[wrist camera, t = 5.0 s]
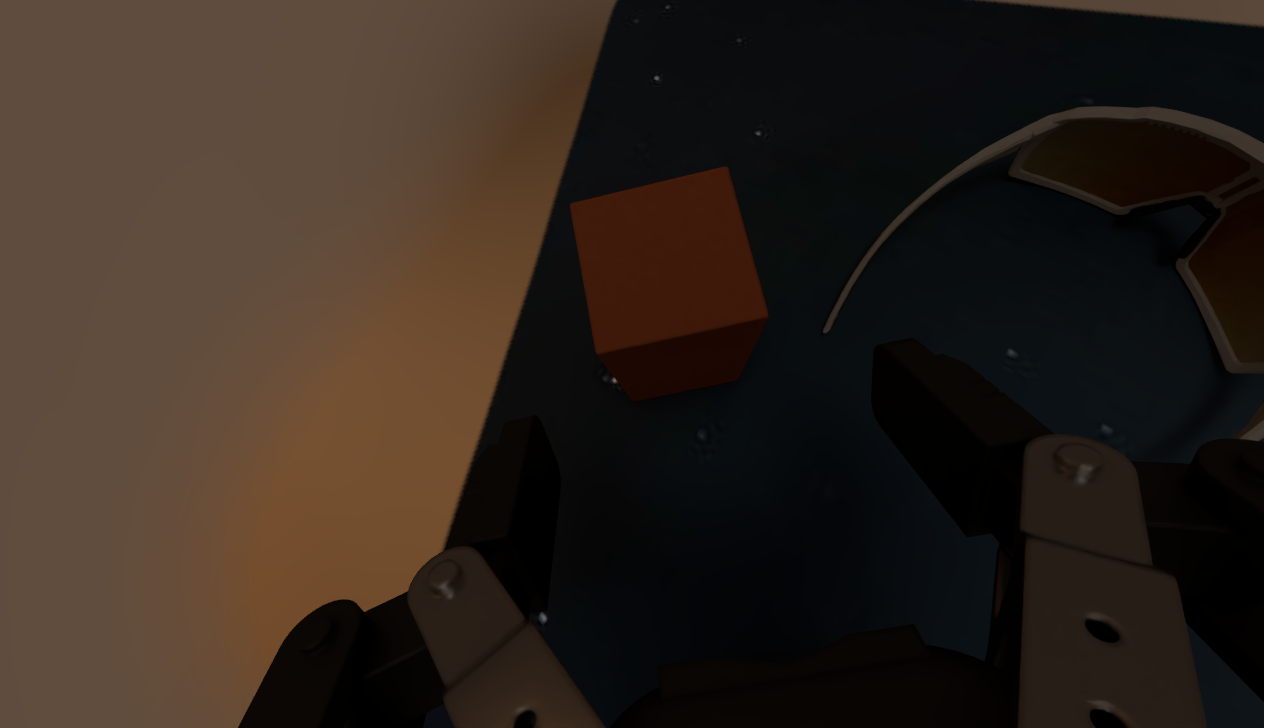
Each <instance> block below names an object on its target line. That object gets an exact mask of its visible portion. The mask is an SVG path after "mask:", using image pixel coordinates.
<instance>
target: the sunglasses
mask: <svg viewBox="0 0 1264 728" xmlns="http://www.w3.org/2000/svg"><path fill="white" fill-rule="evenodd" d="M1019 147H1021V148H1022V149H1021V150H1020V151H1019V153H1018V154H1017V156H1016V158H1015V159H1014V161H1013V163H1012V165H1011V167H1010V169H1009V171H1008V174H1009V175H1010V176H1011V177H1014V178H1018V179H1022V180H1025V181H1029V182H1032V183H1035V184H1038V185H1041V186H1045V187H1048V188H1051V189H1054V190H1057V191H1060V192H1063V193H1065V194H1068V195H1071V196H1073V197H1076V198H1079V199H1081V200H1084V201H1086V202H1089V203H1091V204H1093V205H1096V206H1098V207H1100V208H1102V209H1104V210H1106V211H1108V212H1110V213H1113V214H1116V215H1124V214H1128V216H1129V217H1130V218H1134V217H1139V216H1144V214H1145V215H1148V214H1153V213H1156V212H1160V211H1165V210H1168V209H1171V208H1175V207H1178V206H1183V205H1187V204H1189V205H1191V206H1192V207H1193V208H1195V209H1196V210H1197V211H1198V212H1199V213H1201V214H1202V215H1203V216H1204V217H1206V218H1207V219H1206V220H1205V221H1204V222H1203V224H1202V225H1201V226H1200V227H1199V228H1198V229H1197V231H1196V232H1195V233H1194V234H1193V235H1192V236H1191V237H1190V238H1189V239H1188V240H1187V241H1186V243H1185V244H1184V245H1183V246H1182V247H1181V248H1180V250H1179V251H1178V253H1177V254H1176V258H1179V259H1178V260H1177V262H1176V269H1177V270H1178V272H1179V273H1180V275H1181V277H1182V278H1183V280H1184V281H1185V283H1186V285H1187V286H1188V288H1189V290H1190V291H1191V293H1192V295H1193V297H1194V299H1195V300H1196V303H1197V305H1198V307H1199V309H1200V311H1201V313H1202V316H1203V318H1204V320H1205V322H1206V324H1207V326H1208V329H1209V331H1210V333H1211V335H1212V337H1213V339H1214V342H1215V344H1216V347H1217V349H1218V352H1219V354H1220V357H1221V359H1222V362H1223V364H1224V367H1225V369H1226V370H1227V371H1228V372H1230V373H1255V374H1264V143H1262V142H1260V141H1258V140H1256V139H1254V138H1252V137H1251V136H1249V135H1247V134H1245V133H1243V132H1241V131H1239V130H1237V129H1234V128H1232V127H1229V126H1226V125H1224V124H1221V123H1218V122H1216V121H1213V120H1210V119H1207V118H1203V117H1199V116H1195V115H1192V114H1188V113H1184V112H1180V111H1176V110H1170V109H1164V108H1157V107H1143V108H1128V107H1078V108H1075V109H1072V110H1068V111H1065V112H1061V113H1057V114H1052V115H1049V116H1047V117H1045V118H1042V119H1040V120H1038V121H1036V122H1034V123H1032V124H1030V125H1028V126H1026V127H1024V128H1023V129H1021V130H1019V131H1017V132H1015V133H1013V134H1011V135H1009V136H1007V137H1005V138H1003V139H1001V140H999V141H998V142H996V143H994V144H992V145H990V146H988V147H986V148H985V149H983V150H982V151H980V152H979V153H977V154H976V155H974V156H973V157H971V158H970V159H968V160H967V161H965V162H964V163H962V164H961V165H959V166H958V167H956V168H955V169H954V170H952V171H951V172H950V173H948V174H947V175H945V176H944V177H943V178H941V179H940V180H939V181H938V182H936V183H935V184H934V185H933V186H932V187H930V188H929V189H928V190H927V191H926V192H924V193H923V194H922V195H921V196H920V197H919V198H917V199H916V200H915V201H914V202H913V203H912V204H911V205H909V206H908V207H907V208H906V209H905V210H904V211H903V212H902V213H901V214H900V215H899V216H898V217H897V218H896V219H895V220H894V221H893V222H892V223H891V224H890V225H889V226H888V227H887V228H886V229H885V230H884V231H883V232H882V234H881V235H880V236H879V237H878V238H877V240H876V241H875V242H874V243H873V245H872V246H871V247H870V249H869V250H868V252H867V253H866V255H865V256H864V257H863V259H862V260H861V262H860V263H859V265H858V266H857V267H856V269H855V270H854V272H853V274H852V275H851V277H850V279H849V281H848V282H847V284H846V286H845V288H844V289H843V291H842V293H841V295H840V296H839V298H838V300H837V302H836V304H835V306H834V308H833V310H832V312H831V314H830V316H829V318H828V320H827V322H826V325H825V327H824V329H823V333H827V332H828V331H829V330H830V329H831V328H832V326H833V324H834V322H835V320H836V318H837V316H838V314H839V312H840V310H841V308H842V306H843V304H844V302H845V300H846V298H847V296H848V294H849V293H850V291H851V289H852V288H853V286H854V284H855V283H856V281H857V279H858V278H859V276H860V274H861V273H862V271H863V270H864V268H865V267H866V265H867V264H868V262H869V261H870V260H871V258H872V257H873V256H874V254H875V253H876V252H877V250H878V249H879V248H880V247H881V245H882V244H883V243H884V242H885V241H886V239H887V238H888V237H889V236H890V235H891V233H892V232H893V231H894V230H895V229H896V228H897V227H898V226H899V225H900V224H901V223H902V222H903V221H904V220H905V219H906V218H907V217H908V216H909V215H911V214H912V213H913V212H914V211H915V210H916V209H917V208H918V207H919V206H920V205H921V204H923V203H924V202H925V201H926V200H927V199H929V198H930V197H931V196H932V195H933V194H935V193H936V192H937V191H939V190H940V189H942V188H943V187H944V186H946V185H947V184H949V183H950V182H952V181H953V180H955V179H957V178H958V177H960V176H961V175H963V174H965V173H966V172H968V171H970V170H971V169H974V168H976V167H979V166H982V165H984V164H987V163H989V162H992V161H994V160H997V159H999V158H1001V157H1003V156H1006V155H1008V154H1010V153H1012V152H1014V151H1016V150H1017V149H1018V148H1019ZM1262 438H1264V401H1263V403H1262V405H1261V407H1260V408H1259V410H1258V411H1257V413H1256V414H1255V416H1254V417H1253V418H1252V420H1251V421H1250V423H1249V424H1248V425H1247V426H1246V427H1245V428H1244V429H1243V430H1241V431H1240V432H1239V433H1238V434H1237V435H1235V436H1234V437H1233V438H1232V439H1246V440H1254V441H1259V440H1261V439H1262Z"/></svg>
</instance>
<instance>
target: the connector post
mask: <svg viewBox="0 0 1264 728" xmlns="http://www.w3.org/2000/svg"><path fill="white" fill-rule="evenodd" d="M570 210H571V215H572V221H573V226H574V232H575V238H576V243H577V249H578V255H579V260H580V266H581V271H582V277H583V283H584V288H585V294H586V299H587V305H588V311H589V316H590V322H591V328H592V333H593V339H594V344H595V350H596V353H597V355H598V356H599V357H600V359H601V360H602V361H603V363H604V364H605V365H606V367H607V368H608V369H609V371H610V372H611V373H612V375H613V376H614V377H615V379H616V380H617V381H618V383H619V384H620V385H621V387H622V388H623V389H624V391H625V392H626V393H627V395H628V396H629V397H630V399H631V400H632V401H633V402H636V401H641V400H645V399H650V398H655V397H660V396H665V395H669V394H674V393H679V392H684V391H689V390H693V389H698V388H703V387H708V386H712V385H717V384H722V383H727V382H732V381H736V380H738V379H739V377H740V375H741V373H742V371H743V369H744V367H745V365H746V362H747V360H748V358H749V356H750V354H751V352H752V350H753V348H754V346H755V344H756V342H757V340H758V338H759V336H760V333H761V331H762V329H763V327H764V325H765V323H766V321H767V319H768V316H769V314H768V310H767V307H766V303H765V300H764V296H763V292H762V289H761V285H760V282H759V278H758V274H757V271H756V267H755V264H754V260H753V256H752V253H751V249H750V246H749V242H748V238H747V235H746V231H745V228H744V224H743V220H742V217H741V213H740V209H739V206H738V202H737V199H736V195H735V191H734V188H733V184H732V181H731V177H730V173H729V170H728V168H727V167H721V168H717V169H712V170H708V171H704V172H700V173H696V174H692V175H687V176H683V177H679V178H675V179H671V180H667V181H663V182H658V183H654V184H650V185H646V186H642V187H638V188H633V189H629V190H625V191H621V192H617V193H613V194H608V195H604V196H600V197H596V198H592V199H588V200H583V201H579V202H575V203H572V204H571V205H570Z"/></svg>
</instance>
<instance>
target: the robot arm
mask: <svg viewBox="0 0 1264 728" xmlns="http://www.w3.org/2000/svg"><path fill="white" fill-rule="evenodd" d="M871 402H872V408H873V412H874V415H875V418H876V420H877V422H878V424H879V425H880V427H881V428H882V429H883V430H884V432H885V433H886V434H887V436H888V437H889V438H890V439H891V441H892V442H893V443H894V444H895V446H896V447H897V448H898V450H899V451H900V452H901V453H902V455H903V456H904V457H905V459H906V460H907V461H908V462H909V464H910V465H911V466H912V467H913V469H914V470H915V471H916V473H917V474H918V475H919V476H920V478H921V479H922V480H923V481H924V483H925V484H926V485H927V487H928V488H929V489H930V490H931V492H932V493H933V494H934V496H935V497H936V498H937V499H938V501H939V502H940V503H941V504H942V506H943V507H944V508H945V510H946V511H947V512H948V513H949V515H950V516H951V517H952V519H953V520H954V521H955V522H956V524H957V525H958V526H959V527H960V529H961V530H962V531H963V533H964V534H965V535H966V536H967V537H973V536H978V535H984V534H990V533H992V534H993V536H994V537H995V538H996V539H997V540H998V541H999V547H998V551H997V556H996V567H995V579H994V590H993V601H992V612H991V623H990V633H989V641H988V647H987V652H986V657H985V662H984V661H982V660H980V659H977V658H975V657H973V656H970V655H967V654H963V653H960V652H957V651H954V650H950V649H945V648H940V647H936V646H929V645H925V643H924V641H923V639H922V638H921V636H920V634H919V632H918V631H917V629H916V627H915V625H914V624H911V625H905V626H899V627H892V628H886V629H880V630H874V631H868V632H862V633H856V634H850V635H847V636H845V637H843V638H841V639H839V640H837V641H835V642H833V643H831V644H829V645H827V646H825V647H823V648H821V649H819V650H817V651H814V652H812V653H810V654H808V655H806V656H804V657H802V658H800V659H798V660H796V661H793V662H790V663H777V662H768V661H758V660H749V659H740V658H730V657H721V656H718V657H711V658H705V659H699V660H693V661H687V662H681V663H675V664H669V665H663V666H658V673H659V685H660V687H658V688H656V689H654V690H652V691H650V692H649V693H647V694H646V695H644V696H643V697H641V698H640V699H638V700H637V701H635V702H634V703H633V704H632V705H631V706H630V707H629V708H627V709H626V710H625V711H624V712H623V713H622V714H621V715H620V716H619V717H618V719H617V720H616V721H615V722H614V723H613V724H612V725H611V727H610V728H1207V724H1206V719H1205V714H1204V709H1203V704H1202V699H1201V694H1200V690H1199V685H1198V680H1197V675H1196V670H1195V665H1194V660H1193V656H1192V651H1191V646H1190V641H1189V636H1188V631H1187V626H1186V623H1187V624H1188V625H1189V626H1190V627H1191V628H1192V629H1193V630H1194V631H1195V632H1196V633H1197V635H1198V636H1199V637H1200V638H1201V639H1202V640H1203V641H1204V642H1205V643H1206V644H1207V645H1208V646H1209V647H1210V648H1211V649H1212V650H1213V651H1214V652H1215V653H1216V654H1217V655H1218V656H1219V657H1220V658H1221V659H1222V660H1223V661H1224V662H1225V663H1226V664H1227V665H1228V666H1229V667H1230V668H1231V669H1232V670H1233V671H1234V672H1235V673H1236V674H1237V675H1238V676H1239V677H1240V678H1241V679H1242V680H1243V681H1244V682H1245V683H1246V684H1247V685H1248V686H1249V687H1250V688H1251V689H1252V690H1253V691H1254V692H1255V693H1256V694H1257V695H1258V696H1259V698H1260V699H1261V700H1262V701H1263V702H1264V442H1260V441H1254V440H1246V439H1218V440H1213V441H1209V442H1207V443H1204V444H1203V445H1202V446H1200V447H1199V449H1198V450H1197V452H1196V454H1195V456H1194V458H1193V460H1192V462H1191V464H1180V463H1155V462H1133V461H1129V460H1128V459H1127V458H1126V457H1125V456H1124V455H1122V454H1121V453H1120V452H1118V451H1117V450H1115V449H1113V448H1111V447H1109V446H1107V445H1105V444H1103V443H1100V442H1098V441H1095V440H1092V439H1088V438H1085V437H1080V436H1075V435H1067V434H1054V433H1053V432H1052V431H1051V430H1049V429H1048V428H1047V427H1045V426H1044V425H1043V424H1042V423H1040V422H1039V421H1038V420H1037V419H1035V418H1034V417H1033V416H1032V415H1030V414H1029V413H1028V412H1027V411H1025V410H1024V409H1023V408H1022V407H1020V406H1019V405H1018V404H1017V403H1015V402H1014V401H1013V400H1012V399H1010V398H1009V397H1008V396H1007V395H1005V394H1004V393H1000V392H999V389H998V388H997V387H995V386H994V385H993V384H992V383H990V382H989V381H985V378H984V377H983V376H981V375H980V374H979V373H978V372H976V371H975V370H974V369H973V368H971V367H970V366H969V365H968V364H966V363H963V362H961V361H958V360H956V359H953V358H951V357H949V356H946V355H944V354H940V355H934V354H933V353H932V352H930V351H929V350H928V349H927V348H926V347H925V346H923V345H922V344H921V343H920V342H919V341H917V340H916V339H914V338H909V339H904V340H899V341H894V342H889V343H885V344H880V345H877V346H876V347H875V349H874V354H873V373H872V395H871ZM560 489H561V478H560V471H559V466H558V463H557V460H556V457H555V455H554V452H553V450H552V447H551V445H550V442H549V440H548V437H547V435H546V432H545V430H544V427H543V425H542V423H541V420H540V419H539V417H538V416H537V415H534V416H529V417H524V418H519V419H514V420H510V421H506V422H505V423H504V426H503V429H502V432H501V436H500V439H499V443H498V444H495V445H490V446H488V447H487V448H486V449H485V450H484V452H483V453H482V454H481V455H480V457H479V458H478V459H477V460H476V462H475V463H474V466H473V469H472V472H471V475H470V478H469V483H468V484H467V486H466V489H465V492H464V498H462V501H461V504H460V507H459V510H458V513H457V516H456V519H455V522H454V524H453V527H452V530H451V533H450V536H449V539H448V542H447V545H446V548H445V551H443V552H441V553H439V554H438V555H436V556H434V557H433V558H432V559H430V560H429V561H428V562H427V563H426V564H425V565H424V566H423V567H422V568H421V569H420V570H419V571H418V572H417V574H416V575H415V577H414V578H413V580H412V582H411V584H410V587H409V590H408V591H407V592H405V593H403V594H402V595H399V596H397V597H395V598H393V599H391V600H389V601H387V602H385V603H383V604H381V605H378V606H376V607H374V608H372V609H370V610H368V611H366V612H363V610H362V609H361V608H360V607H359V606H358V605H357V603H355V602H354V601H351V600H343V599H342V600H337V601H333V602H330V603H328V604H325V605H323V606H321V607H319V608H318V609H316V610H314V611H313V612H312V613H310V614H309V615H307V616H306V617H305V618H304V619H303V620H301V621H300V622H299V623H298V624H297V625H296V626H295V627H294V628H293V629H292V631H291V632H290V633H289V634H288V636H287V637H286V638H285V640H284V641H283V643H282V645H281V647H280V648H279V650H278V652H277V654H276V656H275V658H274V660H273V662H272V664H271V665H270V667H269V669H268V671H267V673H266V675H265V677H264V679H263V681H262V683H261V685H260V687H259V689H258V690H257V692H256V694H255V696H254V698H253V700H252V702H251V704H250V706H249V708H248V710H247V712H246V713H245V715H244V717H243V719H242V721H241V723H240V725H239V727H238V728H423V725H424V721H425V716H426V713H427V712H429V711H431V710H432V709H434V708H436V707H438V706H440V705H442V704H445V706H446V709H447V711H448V713H449V716H450V718H451V720H452V722H453V725H454V727H455V728H606V727H605V726H604V724H603V723H602V721H601V720H600V719H599V717H598V716H597V714H596V713H595V712H594V710H593V709H592V707H591V706H590V705H589V703H588V702H587V700H586V699H585V697H584V696H583V695H582V693H581V692H580V690H579V689H578V688H577V686H576V685H575V683H574V682H573V681H572V679H571V678H570V676H569V675H568V673H567V672H566V671H565V669H564V668H563V666H562V665H561V664H560V662H559V661H558V659H557V658H556V657H555V655H554V654H553V652H552V651H551V649H550V648H549V647H548V645H547V644H546V642H545V641H544V640H543V638H542V637H541V635H540V634H539V633H538V631H537V630H536V628H535V627H534V626H533V624H532V623H531V622H530V620H529V613H534V612H539V611H545V610H547V605H548V596H549V587H550V578H551V570H552V561H553V552H554V543H555V534H556V525H557V516H558V507H559V498H560Z"/></svg>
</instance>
